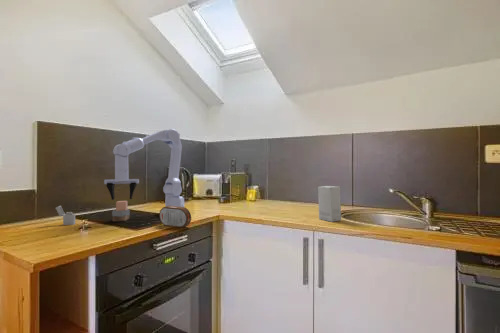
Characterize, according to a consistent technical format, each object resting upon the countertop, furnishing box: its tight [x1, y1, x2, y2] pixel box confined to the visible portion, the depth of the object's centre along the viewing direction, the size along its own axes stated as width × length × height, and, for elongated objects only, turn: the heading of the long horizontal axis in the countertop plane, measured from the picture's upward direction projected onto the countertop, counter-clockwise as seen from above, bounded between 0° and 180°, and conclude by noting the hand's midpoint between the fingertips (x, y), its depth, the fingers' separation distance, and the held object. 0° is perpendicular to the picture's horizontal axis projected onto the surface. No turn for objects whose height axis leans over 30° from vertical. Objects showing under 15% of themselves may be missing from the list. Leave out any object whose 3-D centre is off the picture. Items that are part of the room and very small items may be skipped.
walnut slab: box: [112, 215, 130, 222], centre depth 126 cm, size 6×6×2 cm
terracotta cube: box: [115, 200, 128, 211], centre depth 126 cm, size 4×4×4 cm
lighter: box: [55, 205, 76, 226], centre depth 117 cm, size 7×2×8 cm, turn 98°
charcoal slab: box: [111, 208, 131, 217], centre depth 126 cm, size 5×5×2 cm
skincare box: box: [317, 185, 342, 223], centre depth 126 cm, size 8×7×16 cm
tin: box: [159, 206, 192, 229], centre depth 113 cm, size 15×3×8 cm, turn 65°
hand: (122, 199), depth 126 cm, fingers open, 7 cm apart
